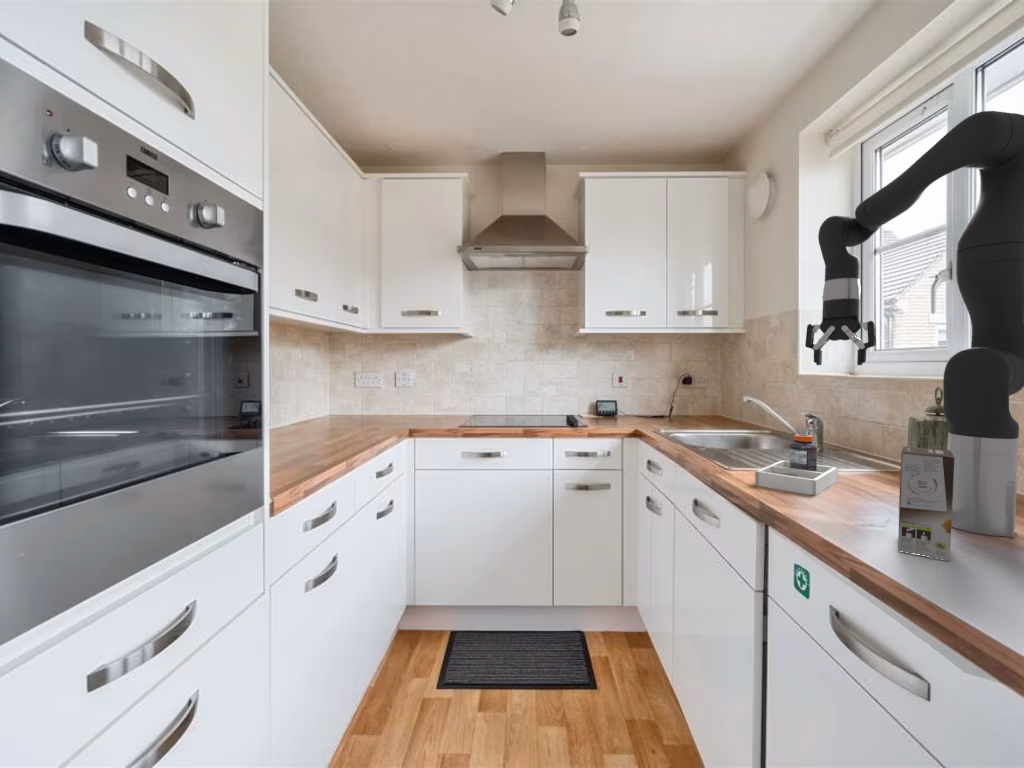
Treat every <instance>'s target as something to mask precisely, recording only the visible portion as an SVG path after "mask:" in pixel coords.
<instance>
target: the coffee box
mask: <svg viewBox="0 0 1024 768" xmlns="http://www.w3.org/2000/svg"><path fill="white" fill-rule="evenodd" d="M900 456H901V458H900V475H899V478H900V480H899V496H898V497H899V502H898V533H897V534H898V535H897V536H898V538H897V539H898V541H897V542H898V543H897V552H899V551H903V552H908V553H915V554H920V555H925V556H929V557H932V558H931V559H933V558H938V559H943V560H949V561H950V559H951V558H950V556H951V542H952V541H951V540H952V538H951V537H952V526H951V524H952V505H953V481H954V459H955V458H954V456H953V454H952V452H951V451H950V450H942V449H931V448H915V447H908V446H903V447H902V448H901V455H900ZM903 552H902V553H903ZM908 553H907V554H908ZM938 559H937V560H938ZM943 560H942V561H943Z"/></svg>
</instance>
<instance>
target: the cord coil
mask: <svg viewBox="0 0 1024 768" xmlns="http://www.w3.org/2000/svg"><path fill="white" fill-rule="evenodd" d="M780 474H781V475H787V476H794V477H800V478H806V477H804V476H801V475H797V474H788V473H780Z"/></svg>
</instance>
